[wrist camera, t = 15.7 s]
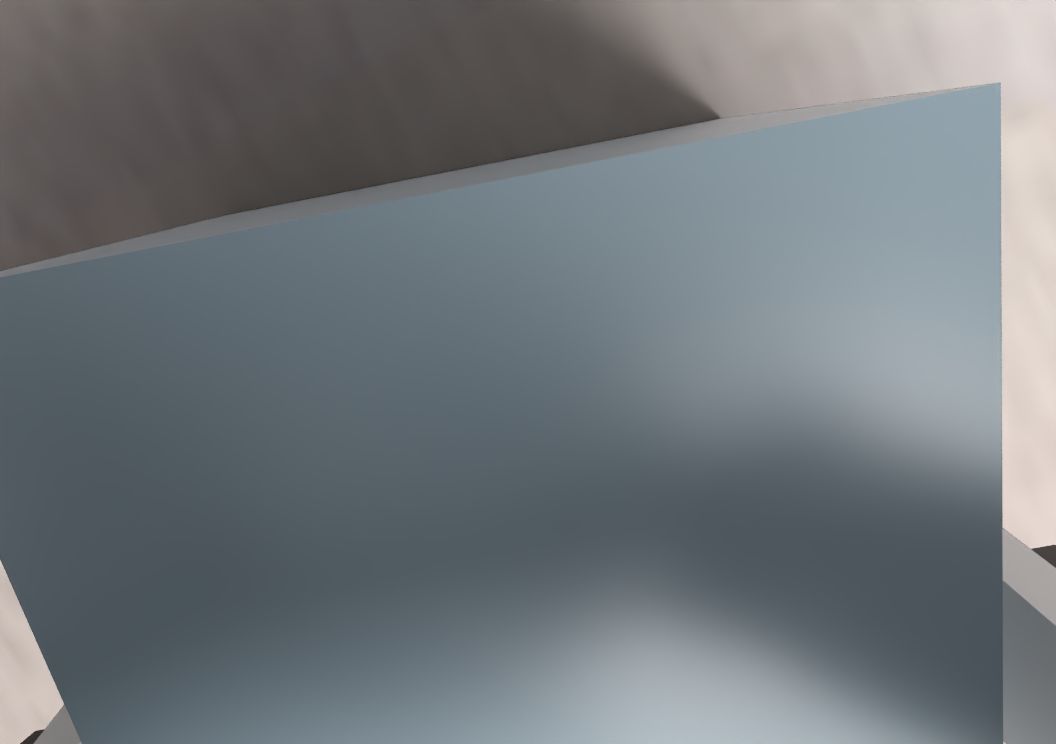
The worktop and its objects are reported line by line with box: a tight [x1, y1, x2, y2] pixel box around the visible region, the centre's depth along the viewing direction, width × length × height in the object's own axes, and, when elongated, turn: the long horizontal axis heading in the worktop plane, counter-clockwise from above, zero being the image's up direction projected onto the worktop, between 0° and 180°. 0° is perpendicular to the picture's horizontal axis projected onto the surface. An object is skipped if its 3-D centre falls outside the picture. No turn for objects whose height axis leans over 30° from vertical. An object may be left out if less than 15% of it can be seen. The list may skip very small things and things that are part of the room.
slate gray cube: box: [0, 83, 1003, 744], centre depth 12 cm, size 10×10×9 cm
